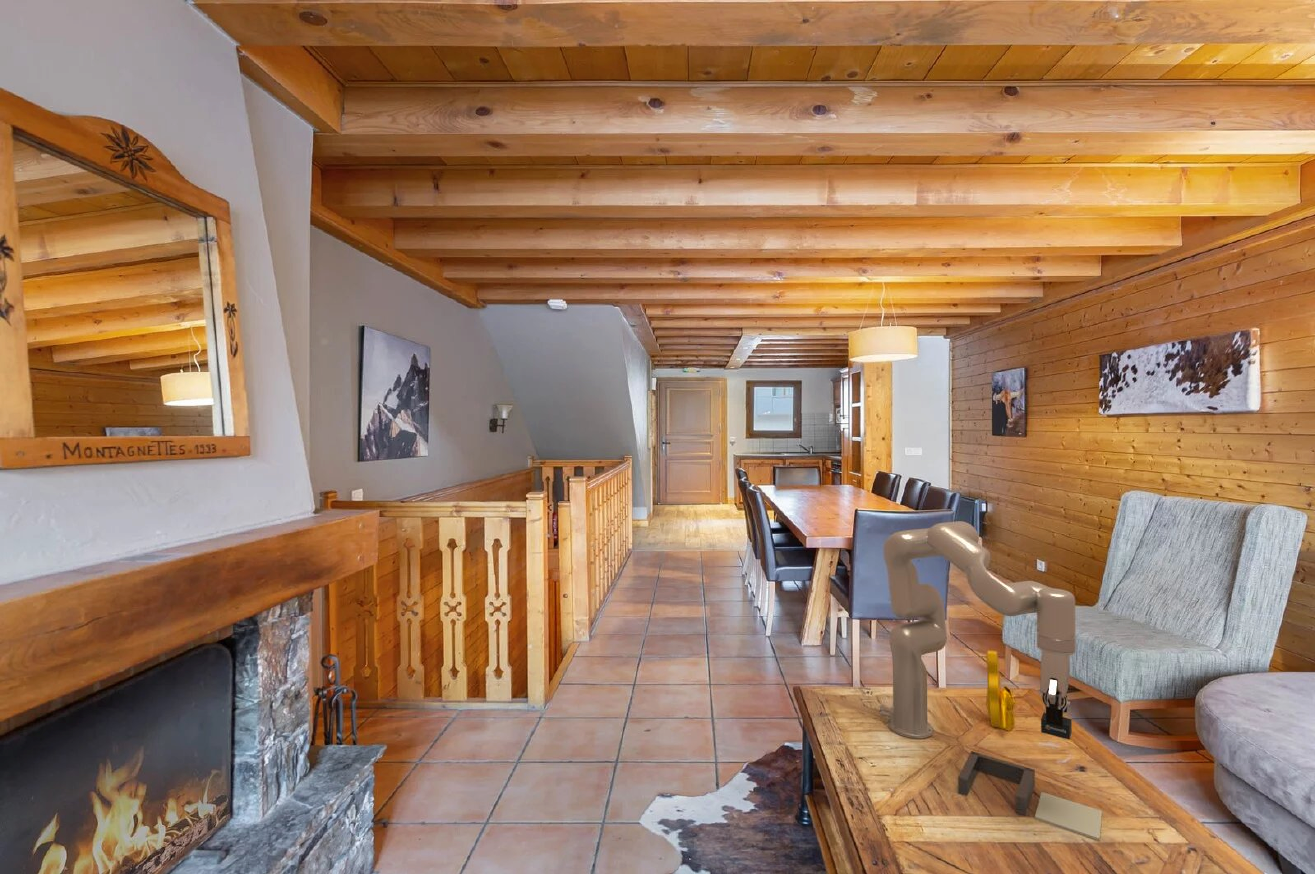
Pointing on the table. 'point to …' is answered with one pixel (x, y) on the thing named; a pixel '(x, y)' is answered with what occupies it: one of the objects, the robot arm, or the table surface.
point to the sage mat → (1069, 815)
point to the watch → (1052, 729)
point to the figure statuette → (998, 696)
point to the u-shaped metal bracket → (999, 770)
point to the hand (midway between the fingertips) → (1056, 717)
